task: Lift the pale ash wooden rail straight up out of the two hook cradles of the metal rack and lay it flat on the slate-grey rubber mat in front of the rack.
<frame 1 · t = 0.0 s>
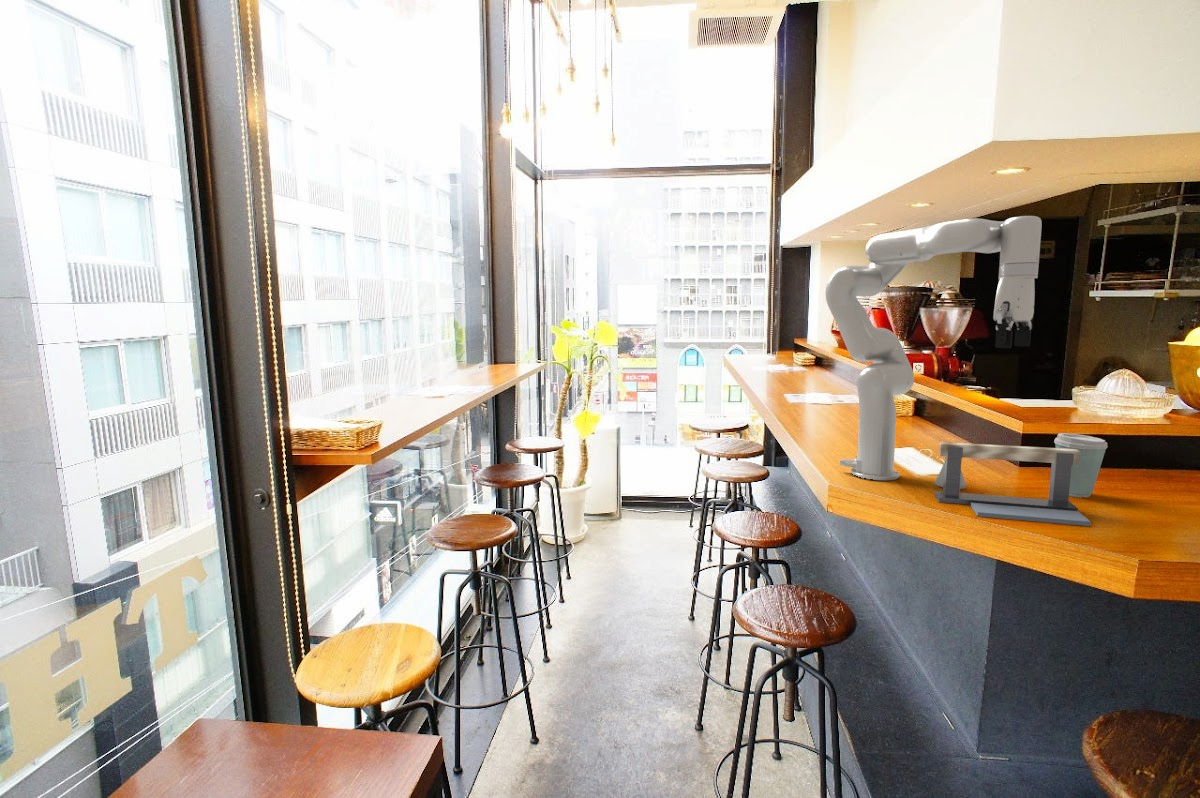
hand: (1012, 347, 148), 37 cm above the worktop, tool pointing down, fingers open, 9 cm apart
mat: (1027, 516, 142), on the worktop
rail: (1006, 458, 150), point 11 cm above the worktop, touching hook rack
flask: (950, 487, 167), on the worktop
hook rack: (1002, 504, 151), on the worktop
disposable coffee cup: (1075, 495, 159), on the worktop
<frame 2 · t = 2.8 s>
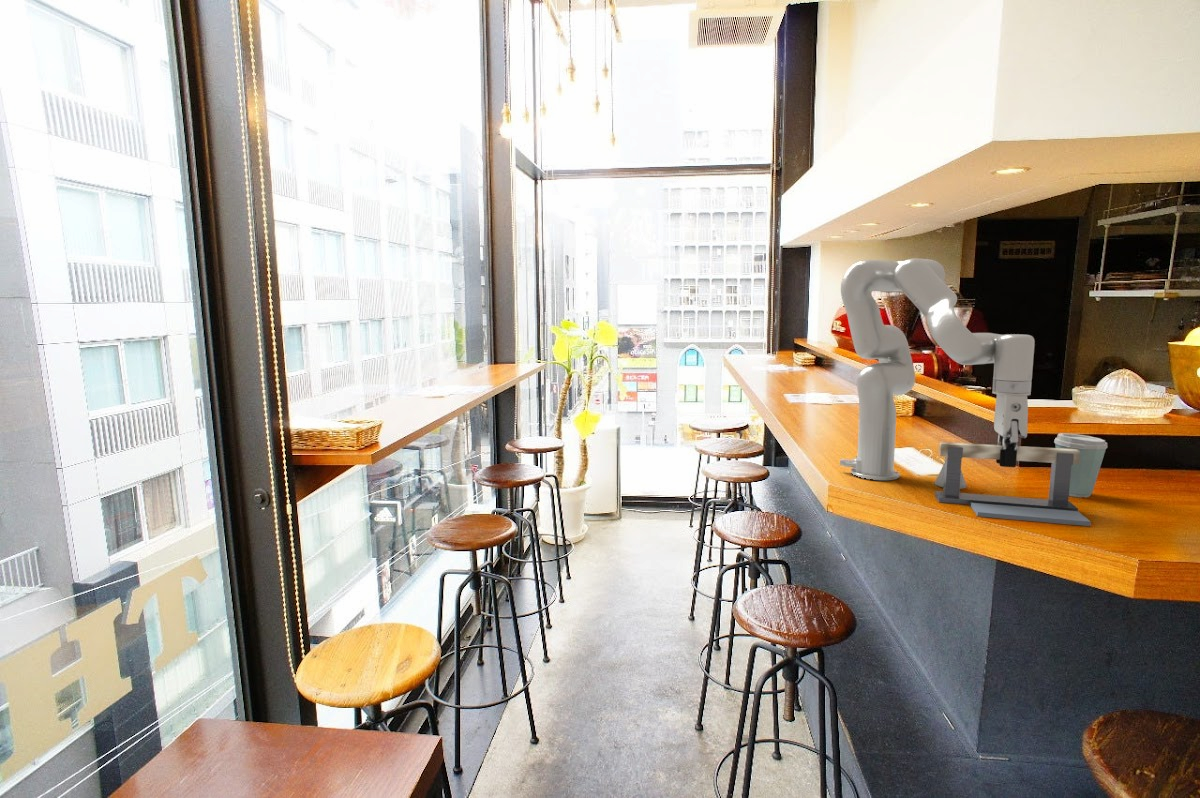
hand: (1005, 464, 150), 10 cm above the worktop, tool pointing down, fingers closed on rail, 2 cm apart
rail: (1006, 458, 150), point 11 cm above the worktop, touching gripper, hook rack
everything else where it was.
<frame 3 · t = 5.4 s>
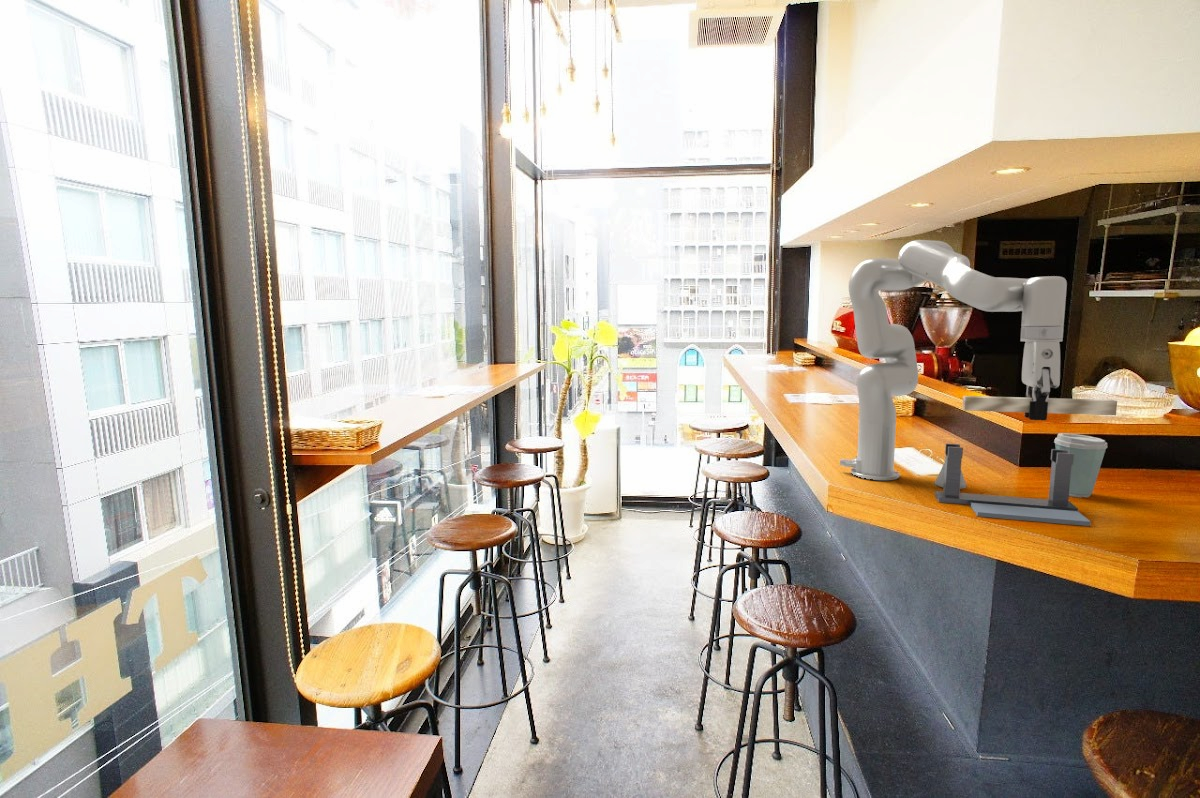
hand: (1035, 418, 139), 22 cm above the worktop, tool pointing down, fingers closed on rail, 2 cm apart
rail: (1035, 412, 139), point 24 cm above the worktop, touching gripper
everything else where it was.
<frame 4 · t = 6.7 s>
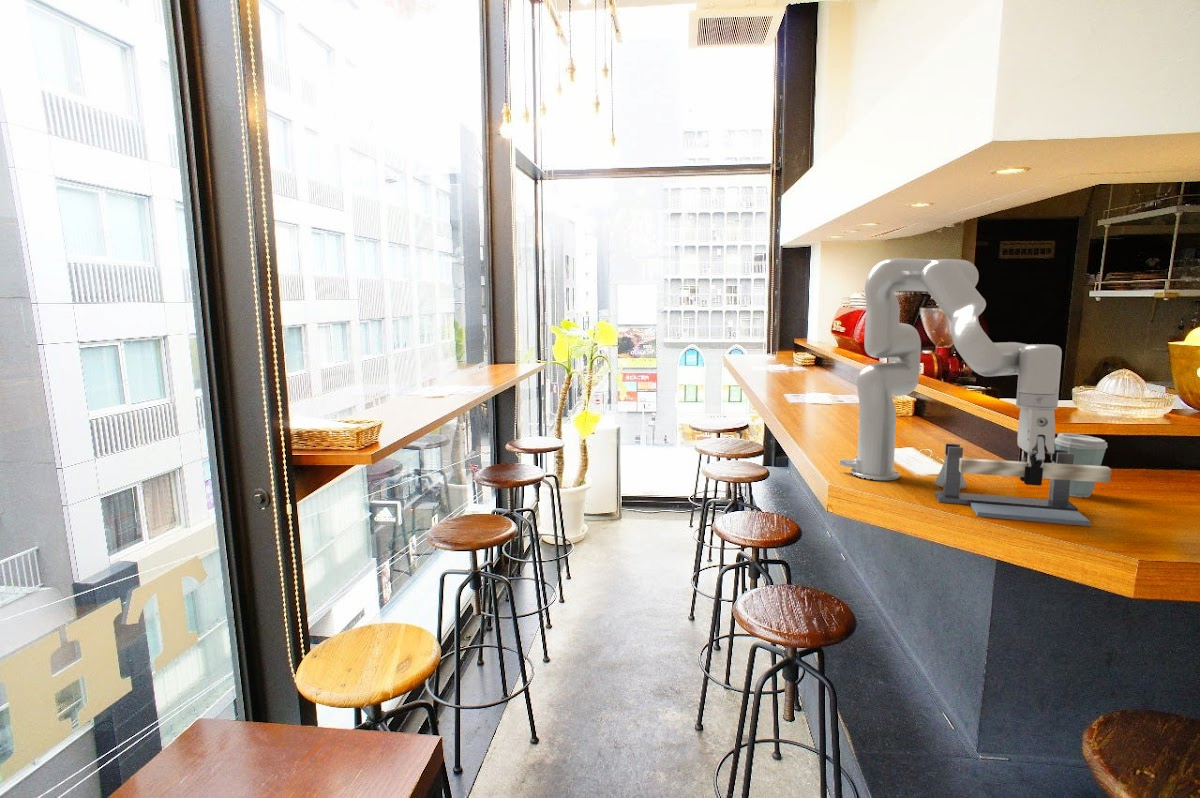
hand: (1030, 482, 141), 8 cm above the worktop, tool pointing down, fingers closed on rail, 2 cm apart
rail: (1031, 476, 141), point 9 cm above the worktop, touching gripper
everything else where it was.
when the fingers open (2 cm above the worktop, at t = 7.8 s): rail drops 2 cm, resting on mat.
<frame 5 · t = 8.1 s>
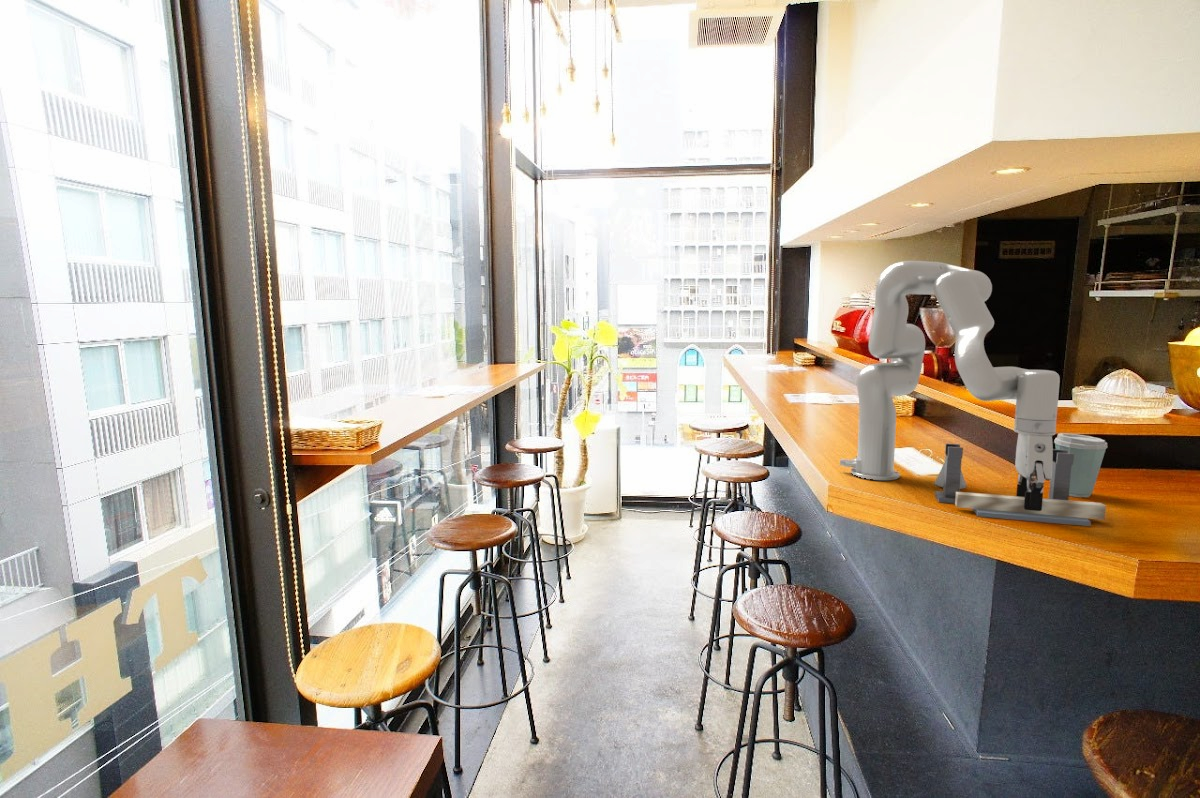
hand: (1028, 505, 142), 3 cm above the worktop, tool pointing down, fingers open, 5 cm apart
rail: (1026, 511, 142), point 1 cm above the worktop, touching mat
everything else where it was.
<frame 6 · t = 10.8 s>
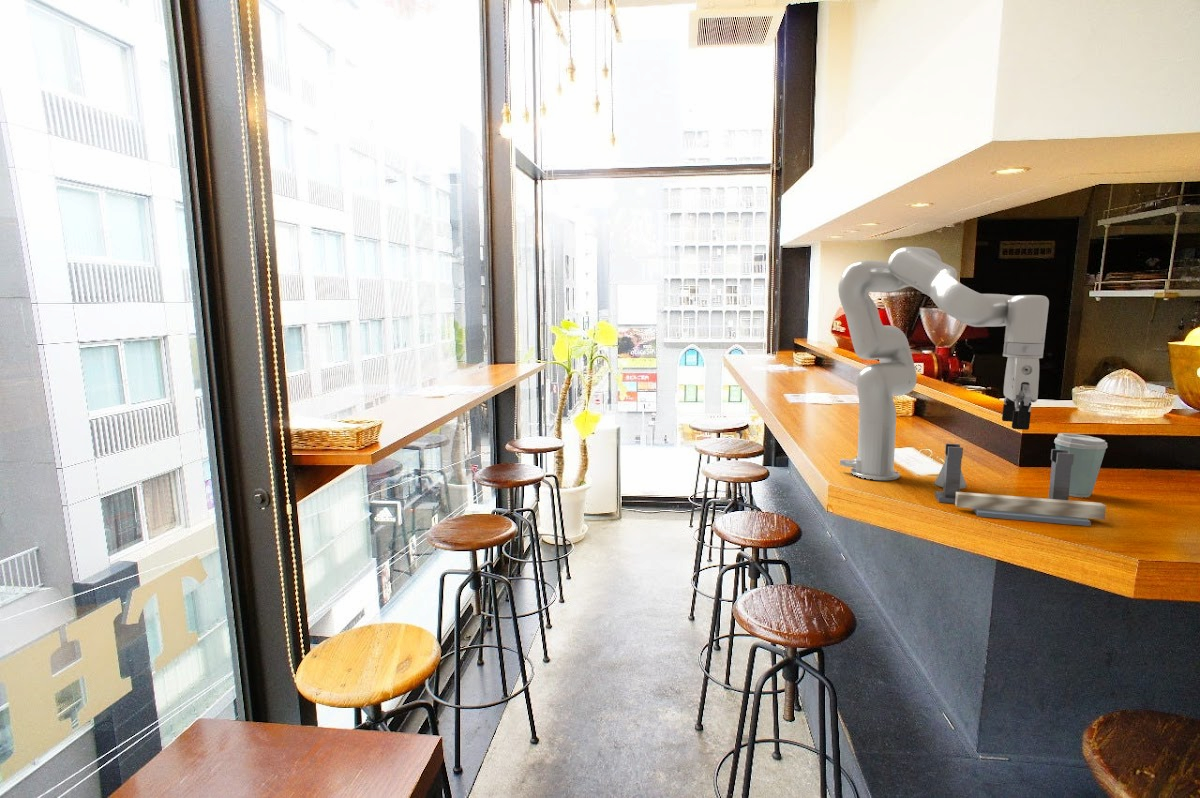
hand: (1014, 425, 146), 20 cm above the worktop, tool pointing down, fingers open, 9 cm apart
nothing on the worktop moved.
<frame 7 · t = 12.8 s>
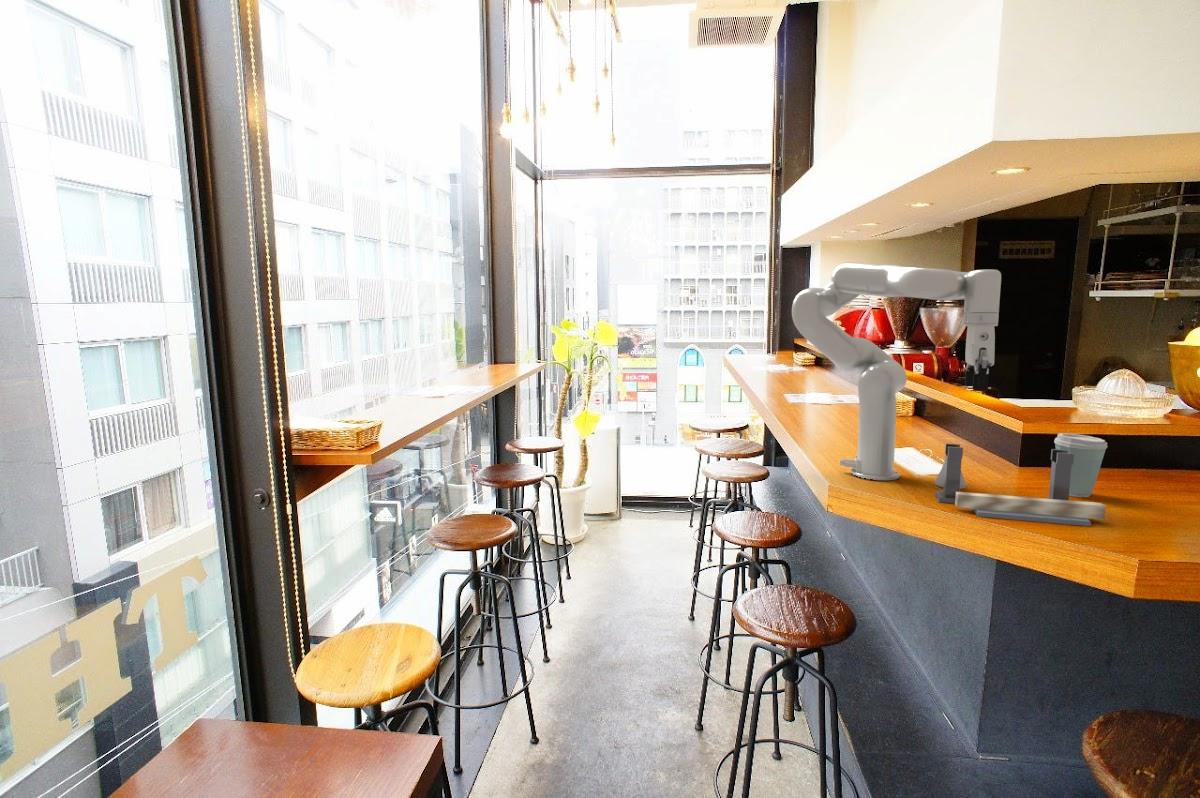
hand: (975, 388, 161), 26 cm above the worktop, tool pointing down, fingers open, 9 cm apart
nothing on the worktop moved.
at the end: rail inside the target area on the mat (0.2 cm from its centre), point 1.0 cm above the mat's base; rail tilted 0°; the gripper is holding nothing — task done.
